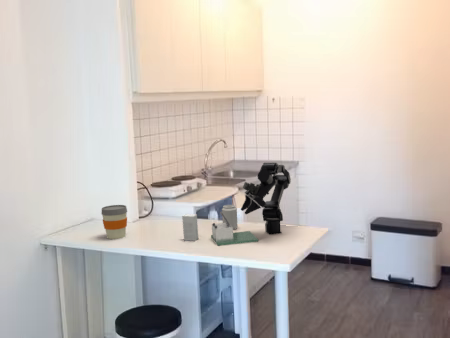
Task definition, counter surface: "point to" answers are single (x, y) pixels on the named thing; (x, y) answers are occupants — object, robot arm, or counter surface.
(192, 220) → the skincare box
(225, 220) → the strap
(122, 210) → the reusable coffee cup
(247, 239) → the board
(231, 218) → the can
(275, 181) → the robot arm
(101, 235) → the counter surface
